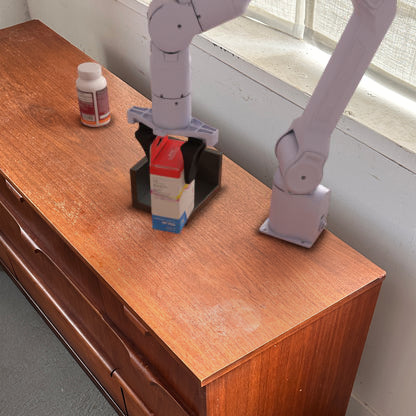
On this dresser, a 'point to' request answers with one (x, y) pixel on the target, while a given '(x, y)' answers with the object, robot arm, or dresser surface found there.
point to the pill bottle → (92, 95)
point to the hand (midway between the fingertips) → (173, 175)
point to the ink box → (169, 186)
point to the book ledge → (203, 183)
